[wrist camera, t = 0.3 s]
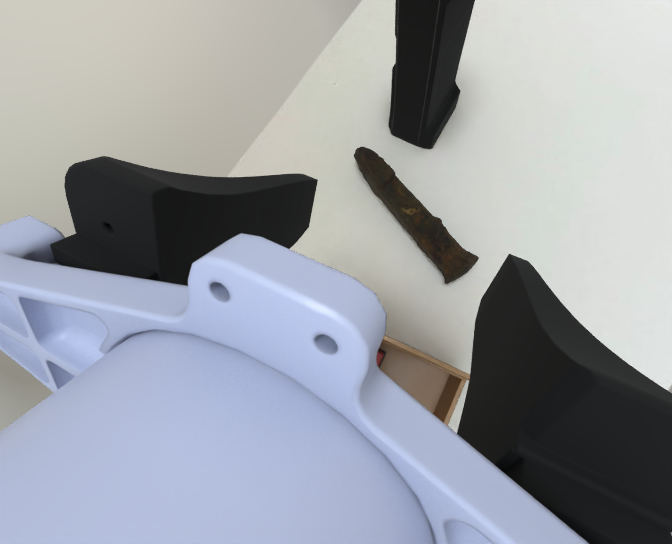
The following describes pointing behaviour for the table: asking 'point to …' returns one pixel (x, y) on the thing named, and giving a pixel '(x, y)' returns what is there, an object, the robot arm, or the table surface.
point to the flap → (427, 357)
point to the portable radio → (426, 67)
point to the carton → (423, 380)
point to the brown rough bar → (415, 217)
